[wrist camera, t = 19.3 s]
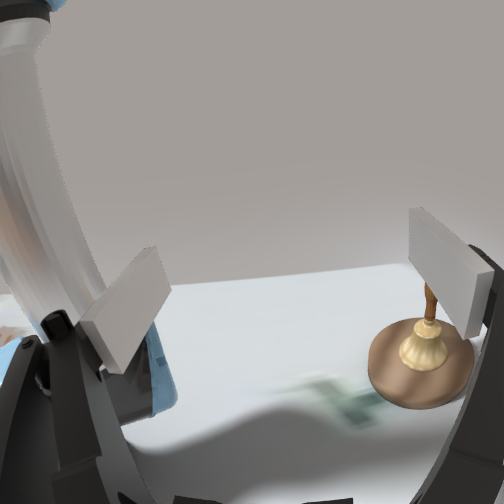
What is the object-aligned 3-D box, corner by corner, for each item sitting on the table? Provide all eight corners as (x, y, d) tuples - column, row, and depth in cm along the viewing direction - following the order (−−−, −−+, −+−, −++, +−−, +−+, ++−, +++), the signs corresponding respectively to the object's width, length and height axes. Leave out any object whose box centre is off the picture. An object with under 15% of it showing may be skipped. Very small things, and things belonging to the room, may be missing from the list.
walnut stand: (350, 394, 41) (351, 381, 40) (386, 323, 53) (386, 311, 52) (460, 418, 30) (466, 406, 28) (473, 338, 42) (477, 325, 41)
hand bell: (427, 380, 35) (448, 287, 29) (388, 354, 42) (394, 264, 36) (456, 349, 38) (475, 260, 32) (418, 328, 45) (427, 243, 39)
